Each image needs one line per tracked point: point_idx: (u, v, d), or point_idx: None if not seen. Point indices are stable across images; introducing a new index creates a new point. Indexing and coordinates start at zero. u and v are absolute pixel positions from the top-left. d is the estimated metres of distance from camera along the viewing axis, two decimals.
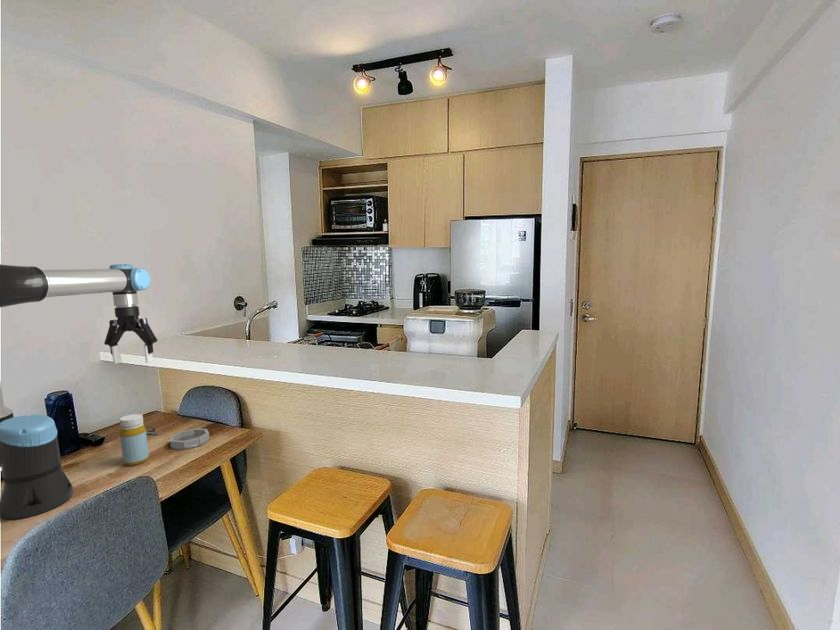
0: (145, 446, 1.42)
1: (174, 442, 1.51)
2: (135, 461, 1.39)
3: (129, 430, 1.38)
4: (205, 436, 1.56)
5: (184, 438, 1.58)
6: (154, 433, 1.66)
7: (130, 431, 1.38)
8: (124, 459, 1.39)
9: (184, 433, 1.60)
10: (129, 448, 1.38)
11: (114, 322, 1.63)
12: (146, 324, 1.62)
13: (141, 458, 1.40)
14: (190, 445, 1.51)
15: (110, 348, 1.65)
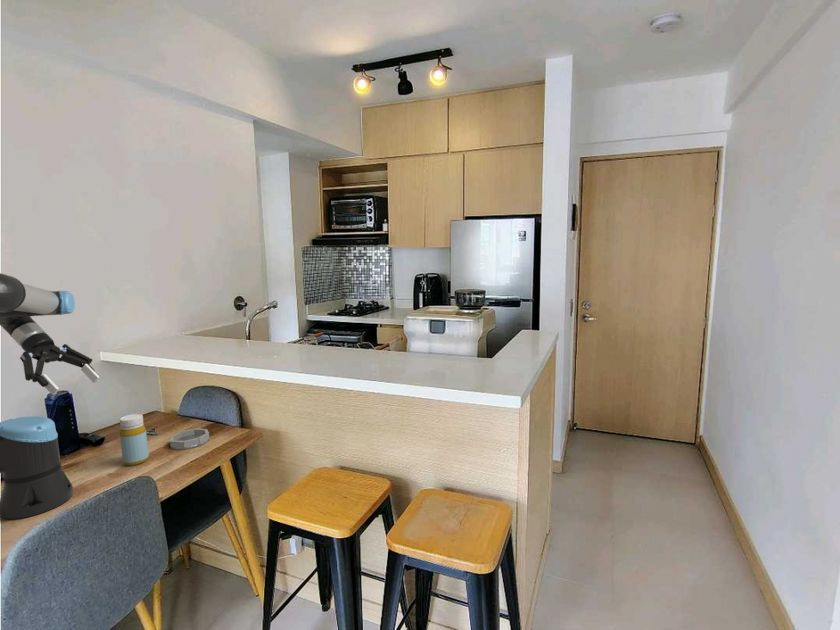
0: (145, 446, 1.42)
1: (174, 442, 1.51)
2: (135, 461, 1.39)
3: (129, 430, 1.38)
4: (205, 436, 1.56)
5: (184, 438, 1.58)
6: (154, 433, 1.66)
7: (130, 431, 1.38)
8: (124, 459, 1.39)
9: (184, 433, 1.60)
10: (129, 448, 1.38)
11: (28, 354, 1.37)
12: None
13: (141, 458, 1.40)
14: (190, 445, 1.51)
15: (39, 378, 1.33)
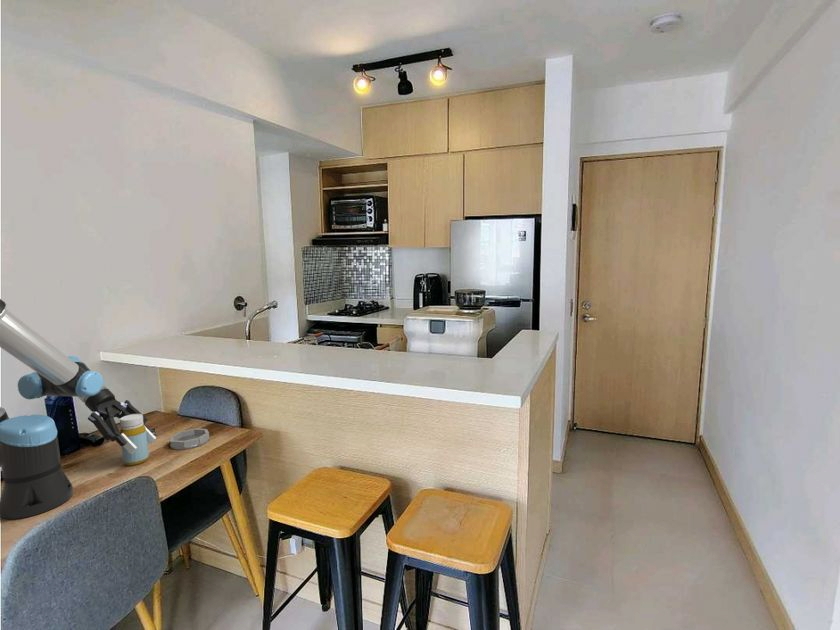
0: (145, 446, 1.42)
1: (174, 442, 1.51)
2: (135, 461, 1.39)
3: (129, 430, 1.38)
4: (205, 436, 1.56)
5: (184, 438, 1.58)
6: (154, 433, 1.66)
7: (130, 431, 1.38)
8: (124, 459, 1.39)
9: (184, 433, 1.60)
10: None
11: None
12: None
13: (141, 457, 1.40)
14: (190, 445, 1.51)
15: (118, 438, 1.36)
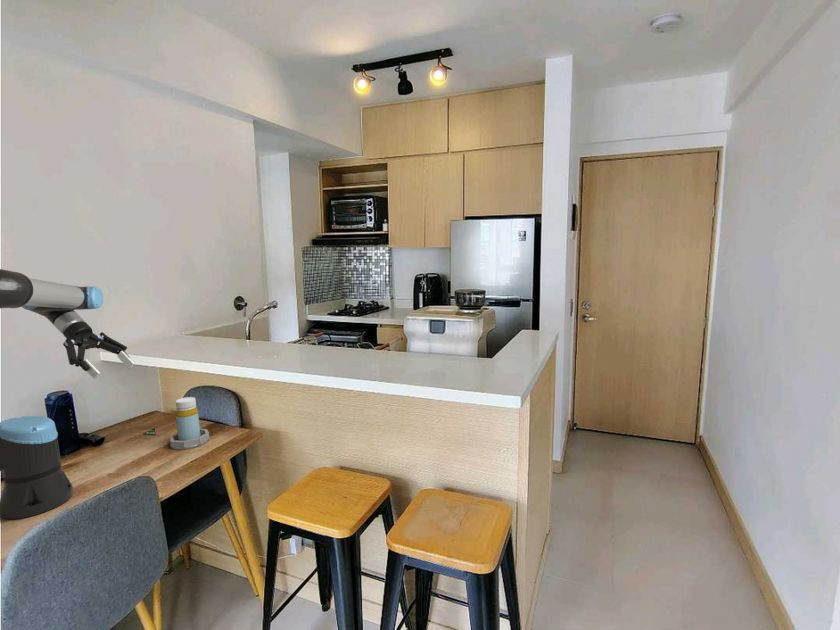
0: (198, 426, 1.56)
1: (174, 442, 1.51)
2: (189, 439, 1.53)
3: (184, 411, 1.52)
4: (205, 436, 1.56)
5: None
6: (154, 433, 1.66)
7: (186, 412, 1.52)
8: (179, 438, 1.53)
9: None
10: (184, 427, 1.52)
11: None
12: None
13: (194, 436, 1.54)
14: (190, 445, 1.51)
15: (82, 363, 1.43)
